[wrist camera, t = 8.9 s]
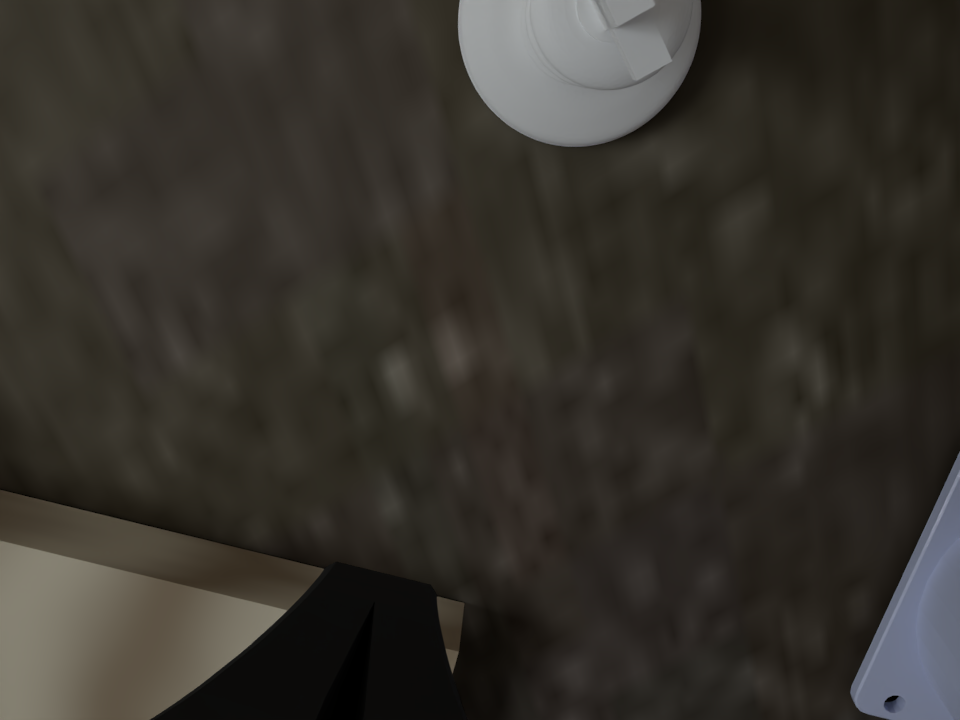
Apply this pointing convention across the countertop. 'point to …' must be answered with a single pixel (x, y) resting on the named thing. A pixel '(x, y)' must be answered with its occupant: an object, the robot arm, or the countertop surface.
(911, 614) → the robot arm
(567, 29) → the chess piece
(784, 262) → the countertop surface
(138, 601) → the board
